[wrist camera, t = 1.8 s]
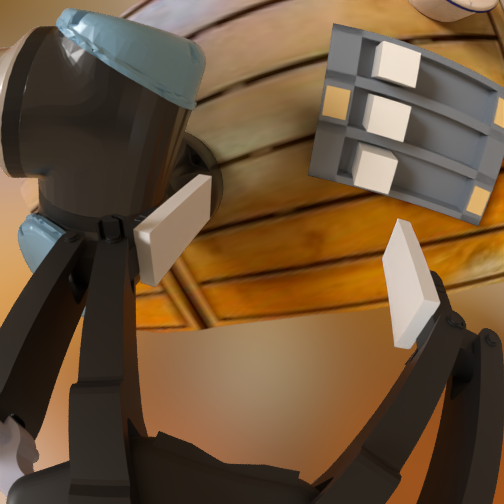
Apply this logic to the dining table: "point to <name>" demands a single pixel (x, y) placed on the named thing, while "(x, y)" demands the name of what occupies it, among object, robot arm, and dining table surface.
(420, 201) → the switch bank
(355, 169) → the tab
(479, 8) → the teacup with lid
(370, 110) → the tab
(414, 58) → the tab
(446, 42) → the dining table surface
